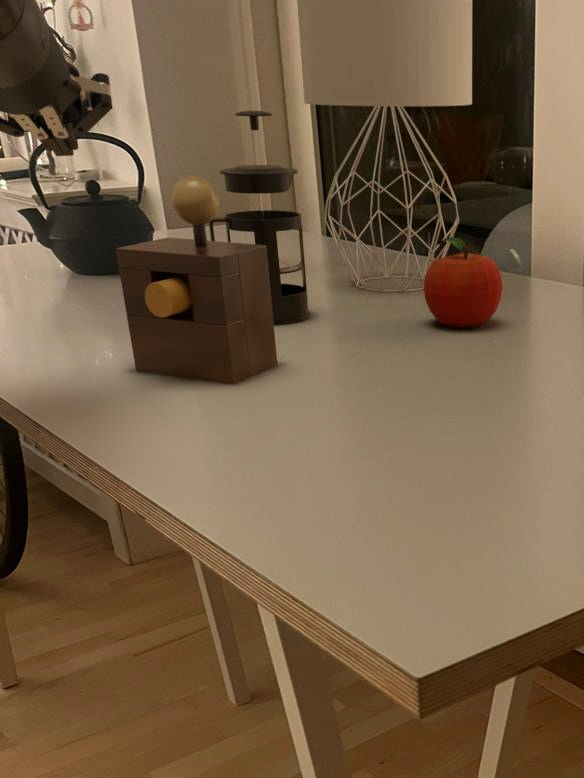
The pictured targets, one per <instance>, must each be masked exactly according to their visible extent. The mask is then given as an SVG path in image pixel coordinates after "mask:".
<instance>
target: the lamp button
mask: <svg viewBox="0 0 584 778" xmlns="http://www.w3.org/2000/svg"><path fill="white" fill-rule="evenodd" d="M145 301H146V304H147V306H148V308H149V310H150V311H151V312H152V313H153V314H154V315H156V316H158V317H167V316H171V315H174V314H177V313H180V312H183V311H186V310H187V309H188V308H189V307H190V305H191V293H190V290H189V288H188V286H187V285H186V283H185V282H183V281H182V280H181V279H179V278H170V279H166V280H162V281H158V282H154V283H151V284H149V285H148V287H147V288H146V290H145Z"/></svg>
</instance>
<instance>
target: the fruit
mask: <svg viewBox="0 0 584 778" xmlns="http://www.w3.org/2000/svg"><path fill="white" fill-rule="evenodd" d="M443 238H444V237H443ZM443 238H442V239H443ZM442 239H441V240H440V241H439V242H438V244H439V245H440V246H441V245H442V244H444V243H445V242H446V241H449V242H450V243H451V244H452V245H453V246H454V247H456V249H458V250H460V251H462V252H463V253H457V254H453V255H446V256H445V257H443V258H441V257H439V258H438V259H436V258H434V261H433V263H432V262H431V264H430V267H429V268H428V267H427V268H428V271H427V270H426V271H427V274H426V276H425V277H424V278H425V282H424V287H423V288H424V289H423V292H424V300H425V302H426V305H427V308H428V309H429V311H430V313H431V314H432V315H433V317H434V318H435V319H436V321H437V322H439V323H441V324H443V325H444V326H447V327H451V328H463V329H464V328H465V329H467V328H475V327H479V326H481V325H483V324H485V323H486V322H488V321H490V320H491V318H492V317H493V316H494V314H495V313H496V311H497V309H498V307H499V304H500V302H501V300H502V294H503V278H502V275H501V272H500V270H499V267H498V266H497V264H496V263H495V262H494V260H493V259H492V258H491V257H488V256H485V255H482V254H477V253H469V249H470V245H469V244H467V245H466V242H465V241H464V240H462V239H461V238H459V237H455V236H453V237H451V238H449V237H447V238H444V239H443V240H442Z"/></svg>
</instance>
